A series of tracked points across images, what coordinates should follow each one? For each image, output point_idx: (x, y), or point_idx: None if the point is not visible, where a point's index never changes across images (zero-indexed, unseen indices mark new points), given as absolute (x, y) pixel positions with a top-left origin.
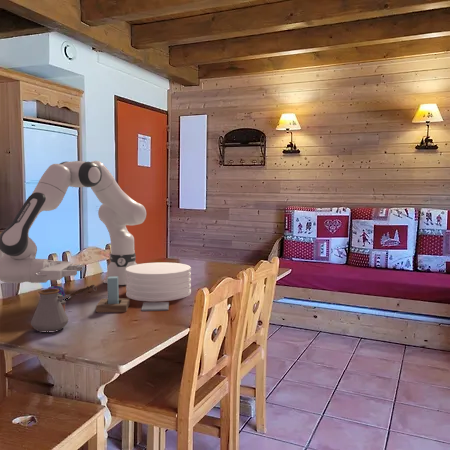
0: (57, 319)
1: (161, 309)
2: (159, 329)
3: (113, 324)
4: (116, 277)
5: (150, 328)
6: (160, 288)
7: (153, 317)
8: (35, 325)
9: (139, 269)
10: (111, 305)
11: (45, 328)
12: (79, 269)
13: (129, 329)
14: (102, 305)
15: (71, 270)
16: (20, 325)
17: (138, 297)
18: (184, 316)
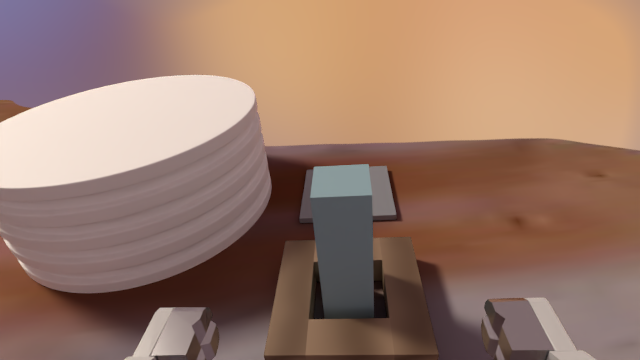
0: None
1: (388, 177)
2: (588, 170)
3: (607, 274)
4: (345, 168)
5: (590, 185)
6: (264, 152)
7: (470, 189)
8: None
9: (112, 147)
10: (416, 285)
11: None
12: (203, 351)
13: (636, 224)
14: (420, 323)
15: (559, 347)
16: None
17: (228, 233)
18: (445, 144)
